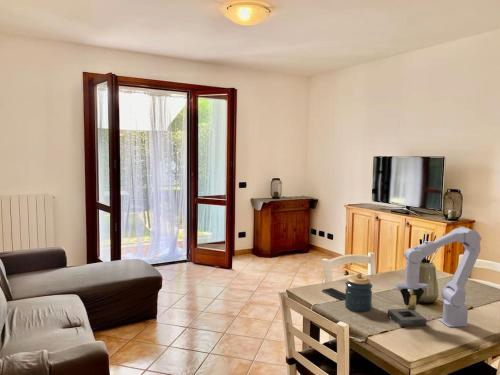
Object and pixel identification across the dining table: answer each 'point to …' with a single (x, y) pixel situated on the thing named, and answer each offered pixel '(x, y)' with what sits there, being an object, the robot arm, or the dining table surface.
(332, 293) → the phone
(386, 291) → the dining table surface
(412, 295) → the piston
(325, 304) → the dining table surface
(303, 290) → the dining table surface
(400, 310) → the grey square socket block
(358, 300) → the canister
